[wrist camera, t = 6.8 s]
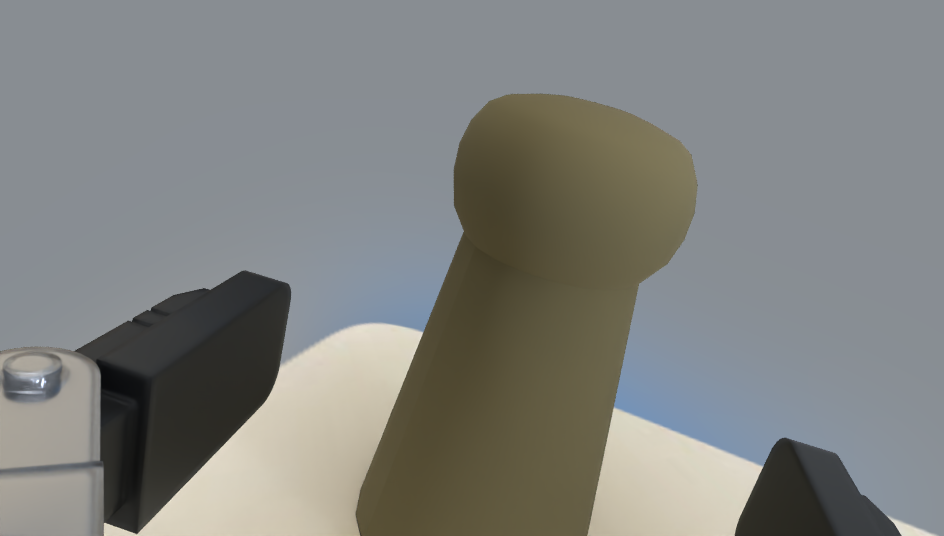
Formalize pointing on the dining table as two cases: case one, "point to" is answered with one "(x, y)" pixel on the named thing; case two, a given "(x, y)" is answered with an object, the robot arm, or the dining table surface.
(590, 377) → the game pawn
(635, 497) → the dining table surface
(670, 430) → the dining table surface
